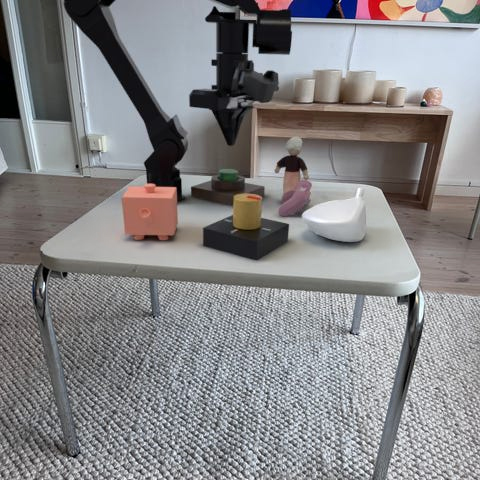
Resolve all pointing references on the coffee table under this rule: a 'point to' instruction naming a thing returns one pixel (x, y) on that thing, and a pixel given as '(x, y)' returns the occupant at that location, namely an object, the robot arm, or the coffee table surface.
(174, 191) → the pink cube teapot
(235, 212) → the dimmer knob
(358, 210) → the golf club head
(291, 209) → the pink rounded piece
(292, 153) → the grandmother figurine
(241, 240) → the panel
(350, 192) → the coffee table surface
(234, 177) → the lamp switch
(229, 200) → the lamp base
